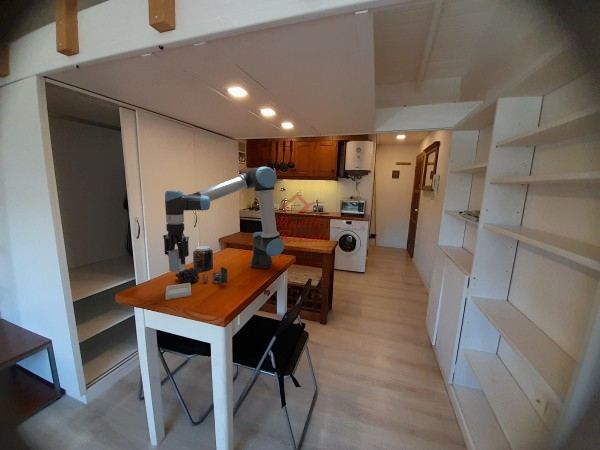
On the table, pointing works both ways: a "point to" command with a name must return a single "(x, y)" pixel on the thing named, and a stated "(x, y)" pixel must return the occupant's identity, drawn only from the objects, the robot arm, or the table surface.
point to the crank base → (205, 279)
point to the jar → (203, 259)
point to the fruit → (188, 275)
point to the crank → (221, 275)
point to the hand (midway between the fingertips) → (177, 269)
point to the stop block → (174, 260)
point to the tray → (178, 291)
